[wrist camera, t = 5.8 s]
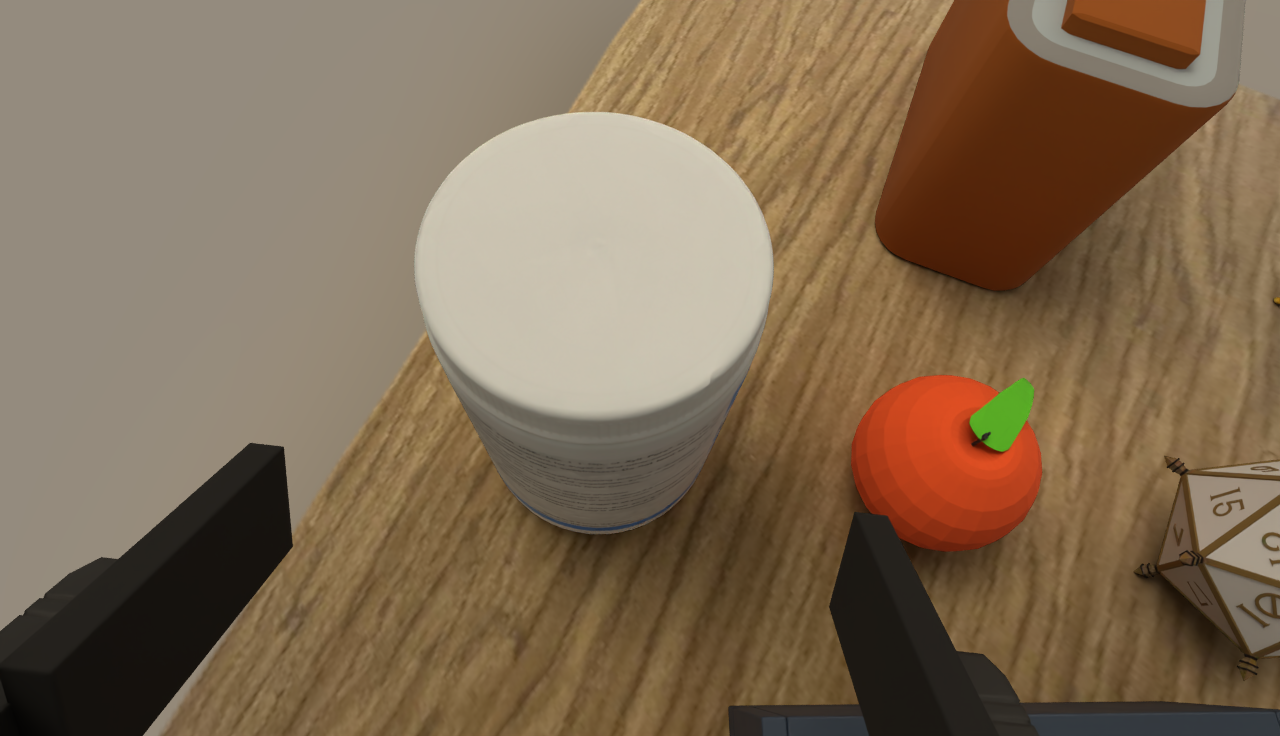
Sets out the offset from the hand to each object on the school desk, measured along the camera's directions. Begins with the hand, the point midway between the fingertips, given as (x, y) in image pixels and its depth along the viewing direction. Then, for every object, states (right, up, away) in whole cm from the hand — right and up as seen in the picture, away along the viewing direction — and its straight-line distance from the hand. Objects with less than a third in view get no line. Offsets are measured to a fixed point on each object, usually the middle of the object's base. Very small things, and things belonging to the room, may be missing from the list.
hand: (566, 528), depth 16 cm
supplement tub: (0, +1, +15) cm, 15 cm away
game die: (+26, -5, +14) cm, 30 cm away
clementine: (+14, -1, +15) cm, 21 cm away
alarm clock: (+20, +15, +22) cm, 33 cm away
